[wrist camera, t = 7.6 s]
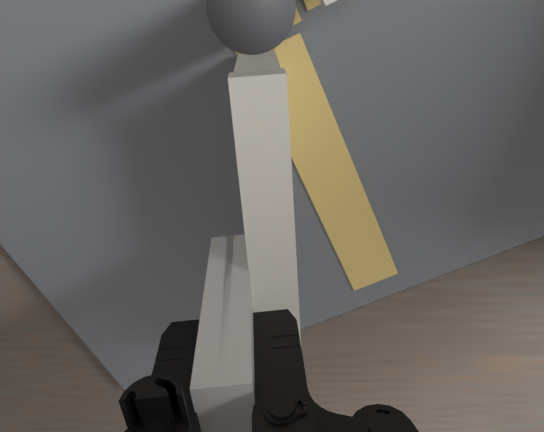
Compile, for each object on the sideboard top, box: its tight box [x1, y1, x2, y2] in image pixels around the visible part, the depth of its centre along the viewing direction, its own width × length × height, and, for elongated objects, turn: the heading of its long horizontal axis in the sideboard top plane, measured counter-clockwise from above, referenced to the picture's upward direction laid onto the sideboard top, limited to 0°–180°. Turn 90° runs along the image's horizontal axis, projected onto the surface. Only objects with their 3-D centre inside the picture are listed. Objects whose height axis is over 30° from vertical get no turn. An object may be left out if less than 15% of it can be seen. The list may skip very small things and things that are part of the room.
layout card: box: [0, 0, 544, 390], centre depth 16 cm, size 25×22×1 cm
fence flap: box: [228, 50, 301, 343], centre depth 15 cm, size 10×1×5 cm, turn 4°
